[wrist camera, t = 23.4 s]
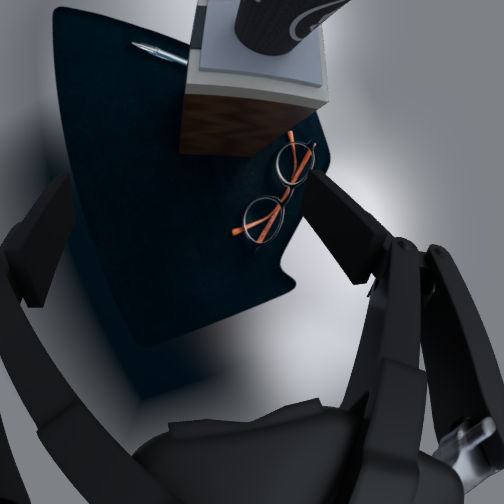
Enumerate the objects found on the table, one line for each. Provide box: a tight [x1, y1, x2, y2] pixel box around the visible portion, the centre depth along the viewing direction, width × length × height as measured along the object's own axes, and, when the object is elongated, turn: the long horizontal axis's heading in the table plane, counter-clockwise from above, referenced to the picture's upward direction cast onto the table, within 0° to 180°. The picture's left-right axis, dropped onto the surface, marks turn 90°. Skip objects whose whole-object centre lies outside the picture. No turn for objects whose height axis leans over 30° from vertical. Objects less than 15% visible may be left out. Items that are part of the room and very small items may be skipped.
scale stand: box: [179, 7, 317, 157], centre depth 39 cm, size 14×14×28 cm
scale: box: [185, 0, 329, 109], centre depth 24 cm, size 14×14×3 cm
